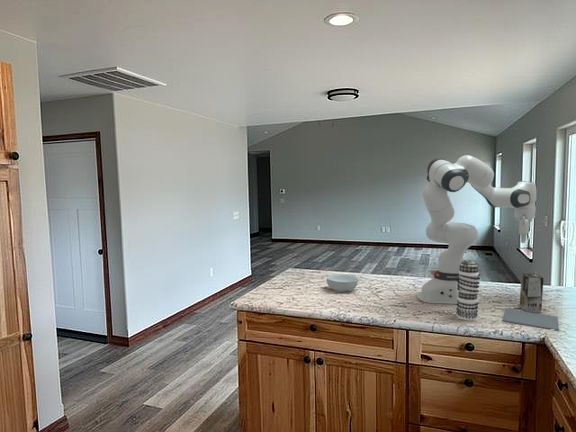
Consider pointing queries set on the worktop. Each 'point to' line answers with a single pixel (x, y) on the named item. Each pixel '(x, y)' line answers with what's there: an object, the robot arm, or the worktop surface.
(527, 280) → the coffee box
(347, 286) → the cereal bowl
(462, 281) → the decorative candle
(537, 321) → the rubber mat
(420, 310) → the worktop surface
